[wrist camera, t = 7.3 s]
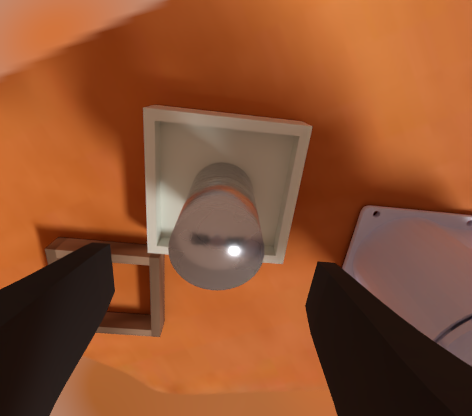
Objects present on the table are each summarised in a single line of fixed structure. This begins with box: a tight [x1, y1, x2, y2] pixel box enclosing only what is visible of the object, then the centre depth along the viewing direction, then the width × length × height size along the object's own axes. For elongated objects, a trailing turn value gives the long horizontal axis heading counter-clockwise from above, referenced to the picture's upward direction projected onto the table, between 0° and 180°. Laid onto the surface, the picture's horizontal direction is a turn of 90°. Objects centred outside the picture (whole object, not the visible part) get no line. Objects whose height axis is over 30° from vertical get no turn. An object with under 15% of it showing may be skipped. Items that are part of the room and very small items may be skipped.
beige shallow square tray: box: [143, 105, 313, 264], centre depth 18 cm, size 9×9×2 cm
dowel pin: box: [168, 162, 264, 290], centre depth 14 cm, size 4×4×7 cm
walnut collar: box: [45, 237, 164, 337], centre depth 21 cm, size 8×8×2 cm
